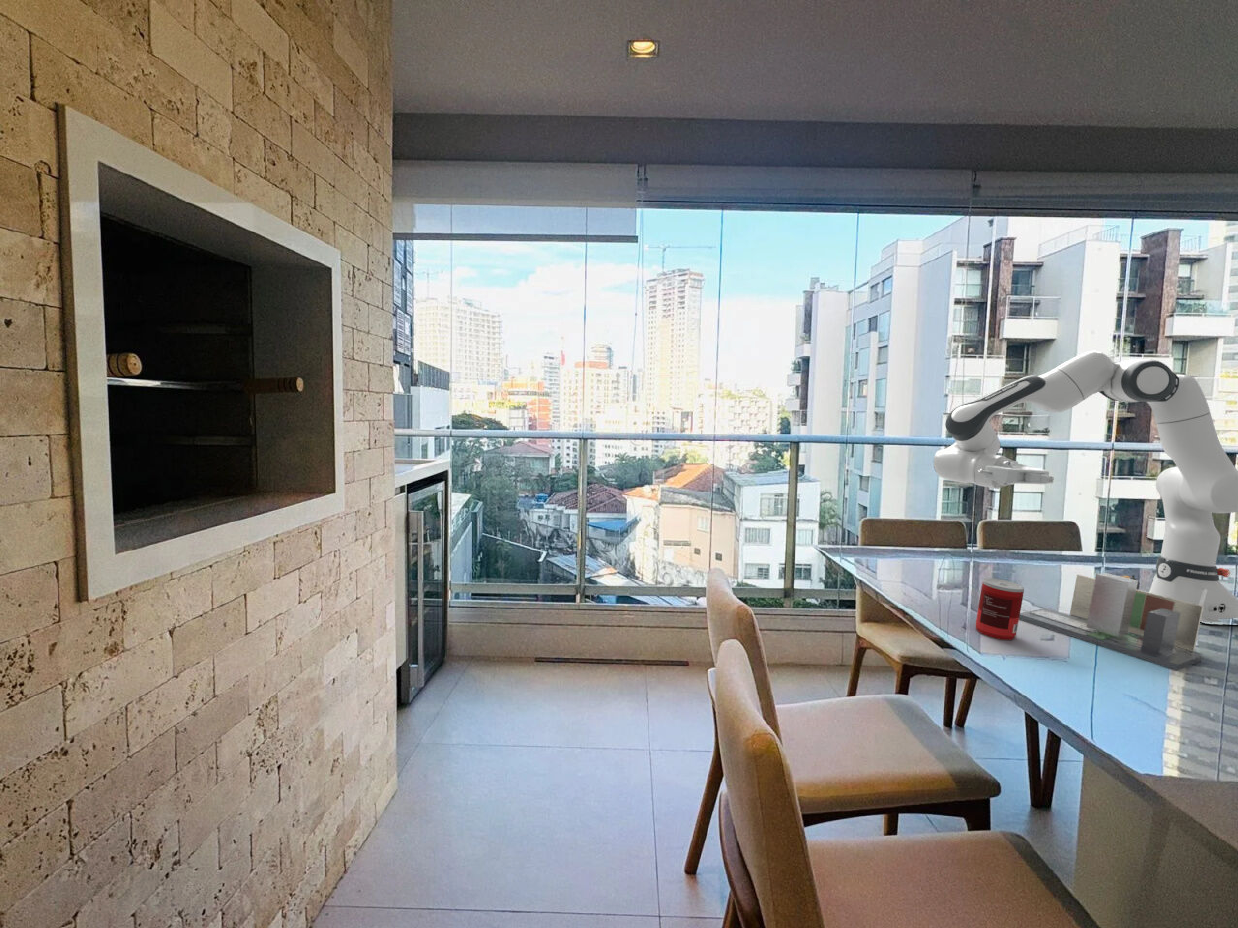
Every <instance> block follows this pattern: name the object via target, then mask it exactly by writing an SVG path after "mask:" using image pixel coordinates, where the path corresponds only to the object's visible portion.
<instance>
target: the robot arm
mask: <svg viewBox="0 0 1238 928" xmlns="http://www.w3.org/2000/svg"><path fill="white" fill-rule="evenodd" d="M1097 393H1099V394H1101V395H1102V396H1103V397H1105V398H1107V399H1109V400H1112V401H1115V402H1122V403H1123V402H1124V403H1138V402H1141V403H1142V402H1143V403H1147V404H1148V406H1149V407H1150V408H1151V411H1152V414H1153V419H1154V422H1155V426H1156V430H1157V433H1158V437H1159V439H1160V444H1161V447H1162V449H1163V450H1162V451H1164V454H1166V455H1167V456H1168V458H1170V459H1171V460H1172V461H1173V463H1174V464H1175V466H1172V467H1168V468H1166V469H1164V470H1163V471H1161V472H1160V473H1159V474H1158V476H1157V478H1156V481H1155V488H1156V491H1157V493H1158V495H1159V496H1160V497H1161V498H1160V499H1161V501H1162V505H1163V507H1162V508H1163V513H1164V514H1163V515H1164V524H1165V525H1164V535H1163V541H1162V546H1161V552H1160V555H1158V556H1157V560H1156V565H1155V570H1156V573H1155V575H1154V577H1153V579H1152V583H1151V585H1150V588H1149V591H1148V592H1149V593H1153V594H1157V595H1161V596H1165V597H1169V598H1173V599H1177V600H1181V601H1184V602H1188V603H1192V604H1196V605H1200V606H1204V608H1203V613H1202V617H1201V621H1203V622H1210V623H1212V622H1221V621H1219V620H1218V619H1232V618H1238V598H1237V597H1236V596H1235V595H1234V594H1233V593H1232V592H1231V591H1229V590H1228V589H1227V588H1226V587H1225V585H1223V584H1222V583H1221V582H1220V577H1219V576H1222V577H1224V578H1228V577H1229V576H1230V574H1231V571H1230V570H1229V569H1226V568H1223V567H1219V568H1218V567H1217V566H1216V563H1217V558H1218V554H1219V549H1220V544H1221V534H1220V532H1219V531H1218V529H1217V528H1216V526H1215V522H1214V517H1213V514H1233V513H1238V469H1237V468H1236V466H1235V465H1234V464H1233V462H1232V461H1231V459H1230V458H1229V456H1228V455H1227V452H1226V451H1225V450H1224V448H1223V446H1222V444H1221V442H1220V440H1219V438H1218V434H1217V431H1216V428H1215V424H1214V421H1213V417H1212V413H1211V409H1210V407H1209V403H1208V401H1207V399H1206V398H1207V397H1206V396H1205V393H1204V391H1203V389H1202V387H1201V386H1200V384H1199V383H1198V381H1197V379H1195V378H1194V377H1193V376H1191V375H1188V374H1176V373H1175V372H1173V371H1172V370H1171V368H1170V367H1169V366H1168V365H1167V364H1165V363H1164V362H1161V361H1159V360H1156V359H1152V358H1151V359H1148V358H1145V359H1141V358H1139V359H1138V358H1136V359H1133V358H1132V359H1128V360H1123V361H1112V359H1111V358H1110V357H1109V355H1107V354H1105V353H1103V352H1101V351H1097V350H1090V351H1089V350H1088V351H1086V352H1083V353H1080V354H1079V355H1076V356H1075V357H1072V358H1070V359H1068V360H1066V361H1064V362H1063V363H1061V364H1059V365H1058V366H1055V367H1054V368H1052V369H1051V370H1050V371H1048V372H1045V373H1044V374H1041V375H1040V374H1039V375H1032V374H1031V375H1027V376H1024V377H1021V378H1019V379H1017V380H1014V381H1012V382H1010V383H1008V384H1006V385H1004V386H1002V387H1000V388H998V389H995V390H993V391H992V392H990V393H988V394H986V395H984V396H982V397H980V398H977V399H976V400H973V401H970V402H967V403H964V404H961V405H958V406H957V407H955V408H953V409H952V410H951V411H950V413H948V415H947V417H946V420H945V423H944V425H945V429H946V431H947V432H948V433H949V435H950V436H951V437H952V438H953V439H954V441H955V442H954V443H953V444H951V445H950V446H948V447H946V448H944V449H943V448H942V449H939V450H937V451H936V452H935V454H934V457H933V468H934V470H935V472H936V474H937V476H939V477H940V478H943V479H945V480H948V481H952V482H957V483H962V484H969V483H970V484H974V485H976V486H978V487H985V488H989V489H997V490H999V489H1001V488H1003V487H1006V486H1013V485H1016V484H1025V485H1028V484H1029V485H1047V484H1050V485H1051V484H1053V483H1054V480H1055V478H1054V476H1050V471H1049V470H1047V469H1044V468H1039V467H1035V466H1031V465H1026V464H1022V463H1019V462H1018V461H1016V460H1012V459H1010V458H1008V457H1007V456H1005V455H1001V454H1000V455H998V454H999V452H1000V450H1001V441H1000V439H999V437H998V434H997V433H996V430H995V429H994V428H993V426H992V424H991V423H990V421H991V419H992V418H993V417H995V416H997V415H999V414H1000V413H1002V412H1004V411H1007V410H1009V409H1010V408H1012V407H1015V406H1016V405H1019V404H1023V403H1028V404H1033V405H1034V406H1036V407H1037V408H1039V409H1040V410H1042V411H1046V412H1050V413H1062V412H1066V411H1068V410H1071V409H1072V408H1074V407H1075V406H1077V405H1078V404H1080V403H1081V402H1083V401H1085V400H1087V399H1088V398H1089V397H1091V396H1092V395H1095V394H1097Z"/></svg>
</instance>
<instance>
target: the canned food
mask: <svg viewBox="0 0 1238 928" xmlns="http://www.w3.org/2000/svg"><path fill="white" fill-rule="evenodd" d="M1024 589H1025V588H1024V587H1023V586H1022V584H1018V583H1016V582H1013V581H1009V580H1006V579H1005V580H1004V579H999V578H991V577H987V578H983V579H982V583H981V589H980V594H979V601H978V606H977V614H976V619H975V624H974V625H975V630H976V631H977V632H978V633H980V634H981V635H983V636H986V637H989V638H993V639H996V640H1000V641H1001V640H1003V641H1012V640H1014V639H1015V638H1016V636H1017V633H1018V627H1019V621H1020V619H1019V616H1020V613H1021V608H1022V605H1023V598H1024V592H1025V590H1024Z"/></svg>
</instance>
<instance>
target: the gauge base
mask: <svg viewBox="0 0 1238 928" xmlns="http://www.w3.org/2000/svg"><path fill="white" fill-rule="evenodd" d="M1075 578H1076V579H1075V584H1074V588H1073V594H1072V595H1073V596H1072V601H1071V605H1070V606H1071V607H1070V611H1069V614H1067V613H1065V612H1061V611H1058V610H1055V609H1054V610H1053V609H1051V608H1047V607H1044V608H1039V609H1033V610H1028V611H1023V612H1020V616H1019V621H1020V620H1021V621H1023V622H1027V623H1029V624H1032V625H1036V626H1038V627H1041V628H1045V629H1047V630H1051V631H1054V632H1057V633H1059V634H1063V635H1067V636H1070V637H1072V638H1074V639H1075V638H1076V639H1078V640H1081V641H1085V642H1086V643H1087V642H1088V643H1091V644H1093V645H1097V646H1100V647H1103V648H1105V649H1108V650H1112V651H1115V652H1119V653H1122V654H1125V655H1128V656H1131V657H1134V658H1137V659H1140V660H1142V661H1146V662H1149V663H1152V664H1155V665H1159V666H1160V667H1165V668H1168V669H1170V670H1173V671H1179V670H1182V669H1184V668H1187V667H1189V666H1191V665H1195V664H1196V663H1199V662H1201V661H1202V659H1203V654H1199V653H1195V651H1196V644H1197V641H1198V637H1199V631H1200V626H1201V623H1200V622H1201V617H1202V613H1203V608H1204V606H1200V605H1196V604H1192V603H1188V602H1184V601H1181V600H1177V599H1173V598H1169V597H1165V596H1161V595H1157V594H1153V593H1149V591H1145V590H1141V589H1138V590H1137V589H1136V594H1135V599H1134V604H1133V609H1132V614H1131V619H1130V625H1129V630H1128V634H1127V635H1123V636H1120V637H1117V636H1113V635H1110V634H1107V633H1104V632H1101V631H1097V630H1094V629H1091V628H1088V627H1087V621H1088V616H1089V611H1090V605H1091V600H1092V595H1093V589H1094V584H1095V579H1096V578H1093V577H1089V576H1085V575H1082V574H1077V575H1076V577H1075ZM1186 649H1187V650H1186Z"/></svg>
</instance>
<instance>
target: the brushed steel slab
mask: <svg viewBox="0 0 1238 928" xmlns="http://www.w3.org/2000/svg"><path fill="white" fill-rule="evenodd" d="M1130 578H1131V576H1130V575H1120V576H1119V575H1116V574H1112V573H1107V572H1104V573H1096V575H1095V578H1094V579H1095V584H1094V589H1093V595H1092V600H1091V605H1090V611H1089V616H1088V620H1087V627H1088V628H1091V629H1094V630H1097V631H1101V632H1104V633H1107V634H1110V635H1113V636H1117V637H1120V636H1123V635H1127V634H1128V633H1129V632H1128V630H1129V625H1130V619H1131V614H1132V609H1133V604H1134V599H1135V594H1136V589H1137V584H1138V581H1139V580H1138V579H1137V580H1138V581H1137V580H1133V579H1130Z"/></svg>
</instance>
